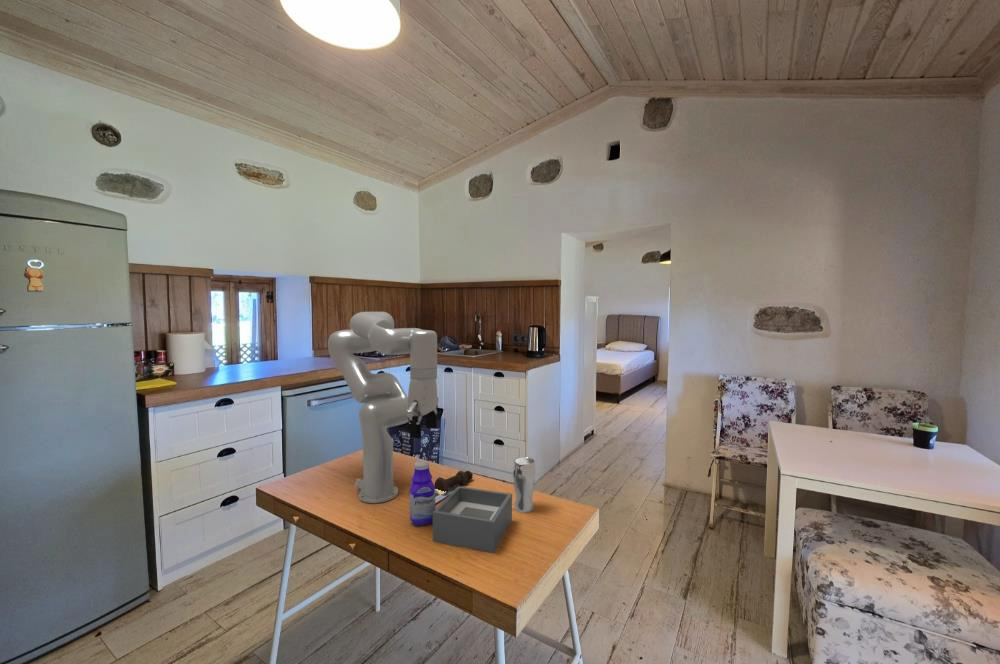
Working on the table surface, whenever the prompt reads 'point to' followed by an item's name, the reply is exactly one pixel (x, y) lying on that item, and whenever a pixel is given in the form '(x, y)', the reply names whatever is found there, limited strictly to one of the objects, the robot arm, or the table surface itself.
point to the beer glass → (524, 483)
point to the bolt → (453, 480)
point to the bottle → (422, 495)
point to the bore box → (473, 518)
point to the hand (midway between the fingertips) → (423, 432)
